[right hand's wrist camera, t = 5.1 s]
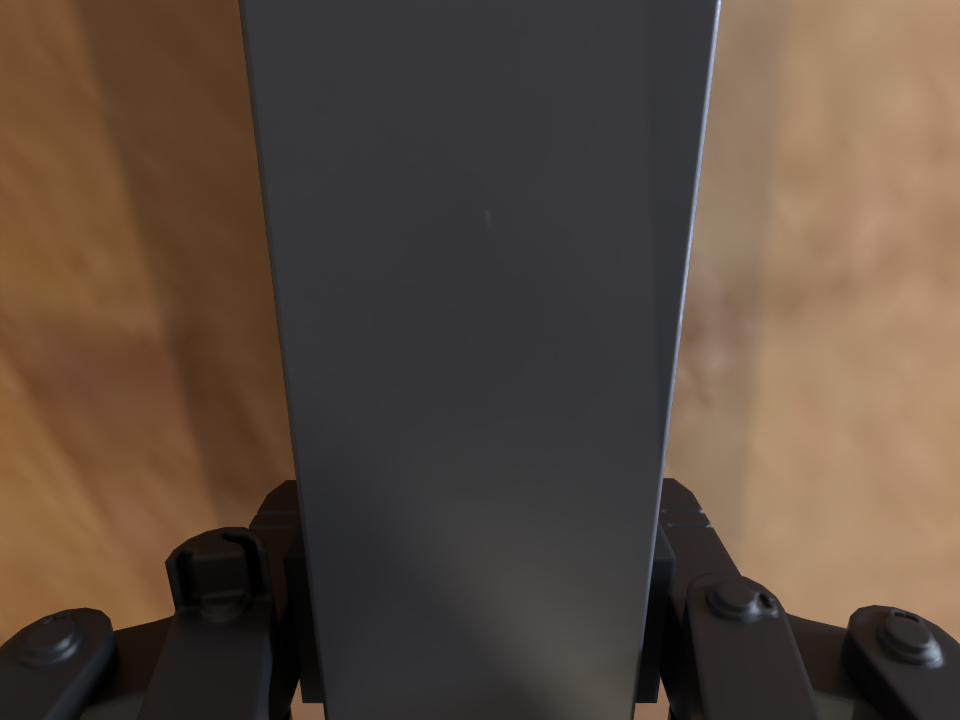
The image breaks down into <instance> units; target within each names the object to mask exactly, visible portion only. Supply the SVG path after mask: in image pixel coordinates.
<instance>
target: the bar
mask: <svg viewBox="0 0 960 720" xmlns="http://www.w3.org/2000/svg"><path fill="white" fill-rule="evenodd" d="M238 1H239V9H240V17H241V26H242V34H243V42H244V50H245V59H246V67H247V75H248V84H249V92H250V100H251V109H252V117H253V125H254V133H255V142H256V150H257V158H258V167H259V175H260V183H261V192H262V200H263V208H264V216H265V225H266V233H267V241H268V250H269V258H270V266H271V275H272V283H273V291H274V299H275V308H276V316H277V324H278V333H279V341H280V349H281V358H282V366H283V374H284V382H285V391H286V399H287V407H288V416H289V424H290V432H291V441H292V449H293V457H294V465H295V474H296V482H297V490H298V499H299V507H300V515H301V524H302V532H303V540H304V548H305V557H306V565H307V573H308V582H309V590H310V598H311V607H312V615H313V623H314V631H315V640H316V648H317V656H318V665H319V673H320V681H321V690H322V698H323V706H324V714H325V720H633V719H634V711H635V703H636V695H637V687H638V679H639V670H640V662H641V654H642V646H643V638H644V630H645V622H646V613H647V605H648V597H649V589H650V581H651V573H652V564H653V556H654V548H655V540H656V532H657V524H658V516H659V507H660V499H661V491H662V483H663V475H664V467H665V459H666V450H667V442H668V434H669V426H670V418H671V410H672V402H673V393H674V385H675V377H676V369H677V361H678V353H679V344H680V336H681V328H682V320H683V312H684V304H685V296H686V287H687V279H688V271H689V263H690V255H691V247H692V239H693V230H694V222H695V214H696V206H697V198H698V190H699V181H700V173H701V165H702V157H703V149H704V141H705V133H706V124H707V116H708V108H709V100H710V92H711V84H712V76H713V67H714V59H715V51H716V43H717V35H718V27H719V18H720V10H721V2H722V0H238Z"/></svg>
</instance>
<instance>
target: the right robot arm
mask: <svg viewBox="0 0 960 720" xmlns="http://www.w3.org/2000/svg"><path fill="white" fill-rule="evenodd" d="M165 565H166V570H167V574H168V579H169V583H170V588H171V592H172V597H173V601H174V605H175V610H176V611H175V614H174V615H173V616H171V617H168V618H165V619H161V620H158V621H155V622H151V623H146V624H142V625H138V626H134V627H129V628H125V629H121V630H116V631H113V628H112V624H111V621H110V618H109V617H107V616H106V615H105V614H104V613H103V612H102V611H100V610H95V609H90V608H78V609H69V610H64V611H61V612H58V613H55V614H52V615H49V616H46V617H43V618H41V619H39V620H37V621H36V622H34V623H32V624H30V625H28V626H26V627H24V628H23V629H21V630H20V631H19V632H18V633H16V634H15V635H14V636H13V637H11V638H10V639H9V640H8V641H7V642H5V643H4V644H3V645H2V646H1V647H0V720H292V713H291V706H290V705H291V702H292V699H293V696H294V693H295V690H296V687H297V684H298V681H299V679H300V686H301V694H302V701H303V703H323V698H322V690H321V681H320V673H319V665H318V656H317V648H316V640H315V631H314V623H313V615H312V607H311V598H310V590H309V582H308V573H307V565H306V557H305V548H304V540H303V532H302V524H301V515H300V507H299V499H298V490H297V482H296V480H286V481H285V482H283V483H282V484H281V485H280V486H278V487H277V488H276V489H274V490H273V491H272V492H270V493H269V494H268V495H267V496H266V498H265V500H264V501H263V503H262V505H261V507H260V508H259V510H258V512H257V515H255V517H254V519H253V520H252V522H251V524H250V525H249V529H248V528H244V527H224V528H220V529H215V530H211V531H206V532H204V533H202V534H199V535H197V536H195V537H193V538H190V539H188V540H187V541H185V542H184V543H183V544H181V545H180V546H179V547H177V548H176V549H175V550H173V552H172V553H171V555H170V556H169V557H168V559H167V560H166V562H165ZM660 676H661V679H662V682H663V685H664V688H665V691H666V694H667V697H668V700H669V703H670V706H669V713H668V720H960V644H959V643H958V642H957V641H956V640H955V639H953V638H952V637H951V636H950V635H948V634H947V633H946V632H945V631H944V630H942V629H941V628H940V627H939V626H937V625H935V624H933V623H931V622H930V621H928V620H926V619H924V618H922V617H920V616H918V615H916V614H913V613H910V612H907V611H904V610H901V609H898V608H895V607H887V606H878V605H872V606H867V607H863V608H859V609H858V610H856V611H855V612H854V613H853V614H852V615H851V616H850V619H849V623H848V626H847V629H846V628H841V627H837V626H833V625H828V624H824V623H820V622H815V621H811V620H807V619H803V618H800V617H797V616H793V615H790V614H788V613H786V612H785V610H784V608H783V607H782V605H781V604H780V602H779V600H778V599H777V597H776V596H775V595H773V594H772V593H771V592H770V591H769V590H767V589H766V588H765V587H764V586H763V585H761V584H759V583H757V582H755V581H753V580H751V579H749V578H747V577H744V576H741V574H740V573H739V571H738V569H737V568H736V566H735V564H734V563H733V561H732V559H731V557H730V556H729V554H728V552H727V551H726V549H725V547H724V546H723V544H722V542H721V540H720V539H719V537H718V535H717V534H716V532H715V530H714V529H713V528H711V523H710V522H709V520H708V518H707V517H706V515H705V513H703V512H702V508H701V507H700V505H699V503H698V501H697V500H696V498H695V496H694V495H693V493H692V492H691V491H689V490H688V489H687V488H685V487H684V486H683V485H681V484H680V483H679V482H678V481H676V480H675V479H674V478H663V483H662V491H661V499H660V507H659V516H658V524H657V532H656V540H655V548H654V556H653V564H652V573H651V581H650V589H649V597H648V605H647V613H646V622H645V630H644V638H643V646H642V654H641V662H640V670H639V679H638V687H637V695H636V703H657V698H658V691H659V684H660Z"/></svg>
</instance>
